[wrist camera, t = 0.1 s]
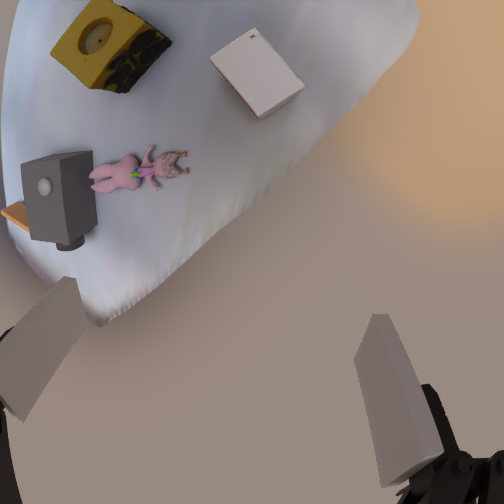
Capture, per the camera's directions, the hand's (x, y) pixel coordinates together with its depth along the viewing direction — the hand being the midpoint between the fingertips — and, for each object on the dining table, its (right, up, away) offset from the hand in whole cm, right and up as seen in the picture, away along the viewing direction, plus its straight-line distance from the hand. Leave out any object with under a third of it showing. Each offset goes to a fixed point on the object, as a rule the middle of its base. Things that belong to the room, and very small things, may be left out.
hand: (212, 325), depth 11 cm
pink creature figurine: (-14, +15, +25) cm, 33 cm away
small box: (+3, +24, +20) cm, 31 cm away
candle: (-16, +31, +18) cm, 39 cm away
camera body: (-27, +12, +27) cm, 41 cm away
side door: (-38, +10, +28) cm, 48 cm away
